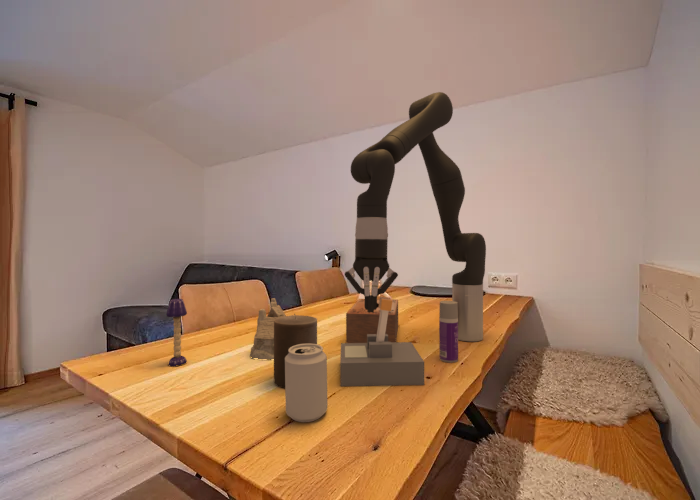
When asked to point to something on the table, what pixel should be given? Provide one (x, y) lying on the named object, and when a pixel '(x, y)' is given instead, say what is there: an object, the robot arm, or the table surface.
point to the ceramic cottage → (266, 332)
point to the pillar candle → (291, 340)
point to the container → (448, 331)
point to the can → (306, 382)
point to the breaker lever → (383, 317)
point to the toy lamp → (177, 329)
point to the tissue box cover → (369, 322)
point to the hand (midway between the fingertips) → (370, 311)
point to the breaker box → (380, 363)
